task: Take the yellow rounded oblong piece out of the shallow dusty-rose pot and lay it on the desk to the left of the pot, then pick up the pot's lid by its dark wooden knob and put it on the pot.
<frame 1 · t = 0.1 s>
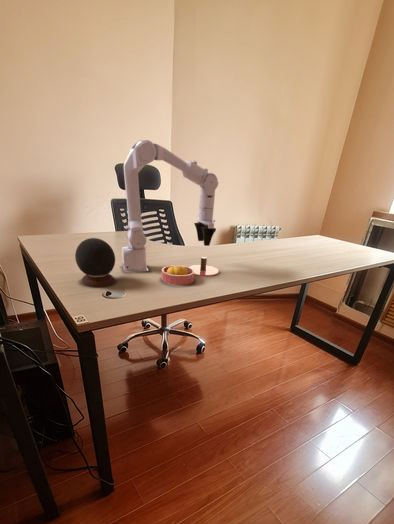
hand: (203, 243, 127), 10 cm above the table, tool pointing down, fingers open, 7 cm apart
lid: (202, 270, 126), point 1 cm above the table
pot: (177, 280, 116), on the table
yellow rounded oblong piece: (177, 279, 116), resting on pot
dark ball on stand: (98, 282, 110), on the table
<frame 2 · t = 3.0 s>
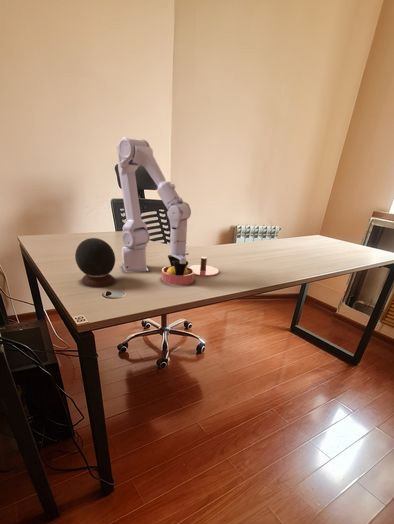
hand: (177, 277, 115), 1 cm above the table, tool pointing down, fingers closed on yellow rounded oblong piece, 5 cm apart
yellow rounded oblong piece: (177, 279, 116), resting on pot, touching gripper
everything else where it was.
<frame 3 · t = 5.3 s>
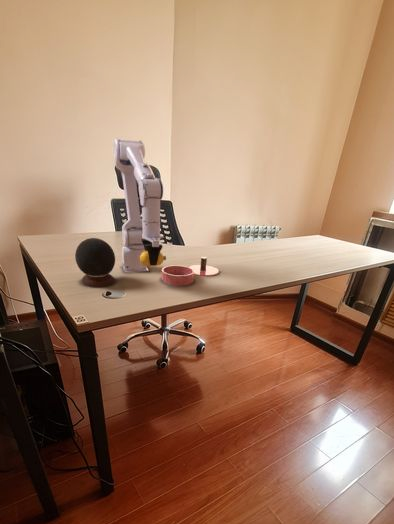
hand: (151, 262, 106), 8 cm above the table, tool pointing down, fingers closed on yellow rounded oblong piece, 5 cm apart
yellow rounded oblong piece: (151, 265, 106), point 7 cm above the table, touching gripper
everything else where it was.
when the fingers open (1 cm above the table, at t = 7.7 s): yellow rounded oblong piece stays where it is, on the table.
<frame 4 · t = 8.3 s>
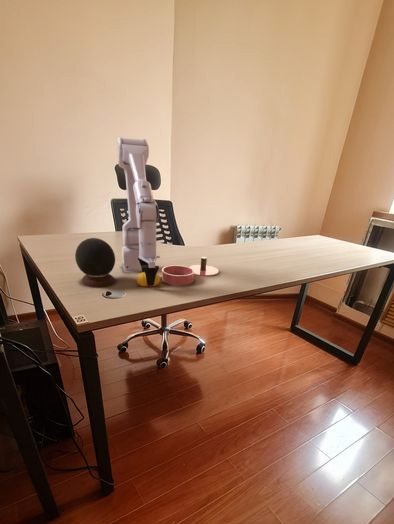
hand: (148, 281, 108), 2 cm above the table, tool pointing down, fingers open, 7 cm apart
yellow rounded oblong piece: (148, 286, 109), on the table
everything else where it was.
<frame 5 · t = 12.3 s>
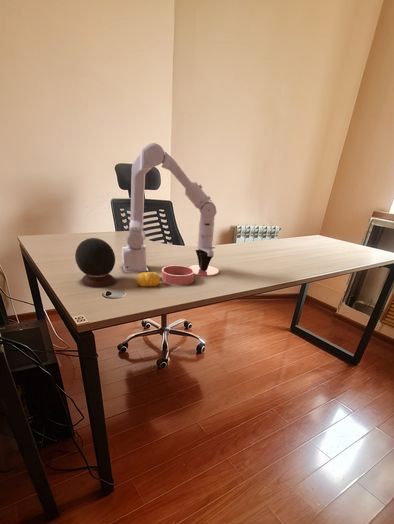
hand: (203, 269, 125), 1 cm above the table, tool pointing down, fingers closed on lid, 2 cm apart
lid: (202, 270, 126), point 1 cm above the table, touching gripper
everything else where it was.
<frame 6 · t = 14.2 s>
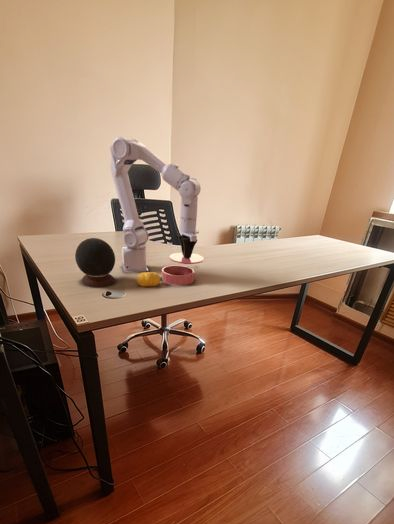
hand: (186, 256, 115), 8 cm above the table, tool pointing down, fingers closed on lid, 2 cm apart
lid: (186, 258, 115), point 8 cm above the table, touching gripper
everything else where it was.
when the fingers open (5 cm above the table, at t = 16.1 s): lid stays where it is, resting on pot.
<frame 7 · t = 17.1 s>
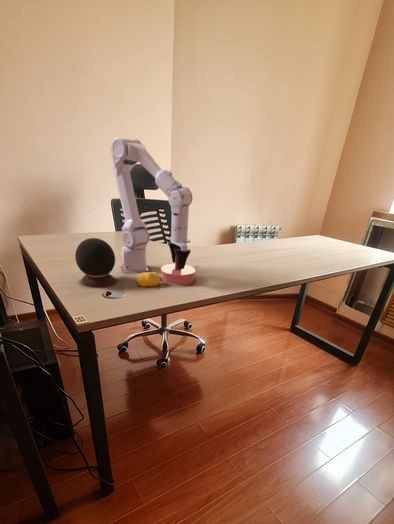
hand: (178, 265, 113), 6 cm above the table, tool pointing down, fingers open, 7 cm apart
lid: (178, 270, 114), point 4 cm above the table, touching pot
everything else where it was.
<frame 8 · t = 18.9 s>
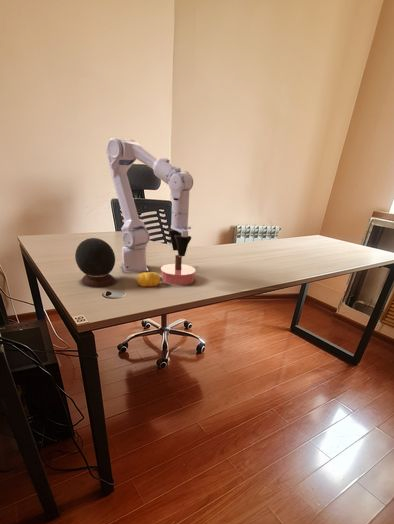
hand: (178, 253, 110), 10 cm above the table, tool pointing down, fingers open, 7 cm apart
nothing on the table moved.
at the end: yellow rounded oblong piece inside the target area (0.5 cm from its centre), on the table; lid 0.0 cm off-centre on the pot, point 3.9 cm above the pot's base; lid tilted 0° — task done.
